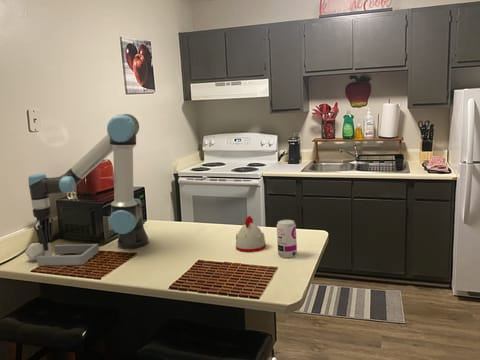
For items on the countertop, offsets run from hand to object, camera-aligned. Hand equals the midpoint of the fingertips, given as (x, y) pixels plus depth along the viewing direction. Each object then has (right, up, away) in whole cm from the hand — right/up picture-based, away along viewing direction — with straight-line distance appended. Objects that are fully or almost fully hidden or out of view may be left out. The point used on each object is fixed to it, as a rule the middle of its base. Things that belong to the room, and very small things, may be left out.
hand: (48, 256), depth 210 cm
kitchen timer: (+95, +4, -2) cm, 95 cm away
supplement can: (+110, +3, -15) cm, 111 cm away
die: (-5, -2, +1) cm, 6 cm away
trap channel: (+9, -1, -1) cm, 10 cm away
